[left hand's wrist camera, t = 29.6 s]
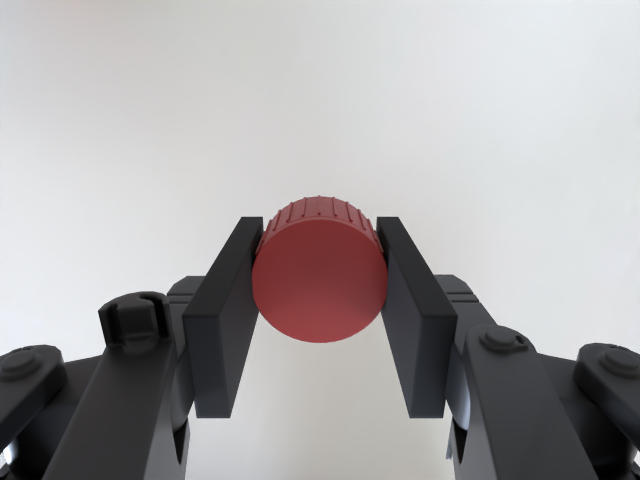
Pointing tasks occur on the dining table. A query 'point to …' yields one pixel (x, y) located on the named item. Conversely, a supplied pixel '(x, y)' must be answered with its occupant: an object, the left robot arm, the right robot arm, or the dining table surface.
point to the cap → (319, 271)
